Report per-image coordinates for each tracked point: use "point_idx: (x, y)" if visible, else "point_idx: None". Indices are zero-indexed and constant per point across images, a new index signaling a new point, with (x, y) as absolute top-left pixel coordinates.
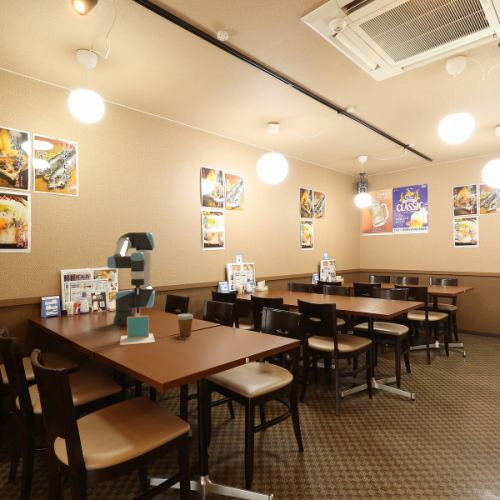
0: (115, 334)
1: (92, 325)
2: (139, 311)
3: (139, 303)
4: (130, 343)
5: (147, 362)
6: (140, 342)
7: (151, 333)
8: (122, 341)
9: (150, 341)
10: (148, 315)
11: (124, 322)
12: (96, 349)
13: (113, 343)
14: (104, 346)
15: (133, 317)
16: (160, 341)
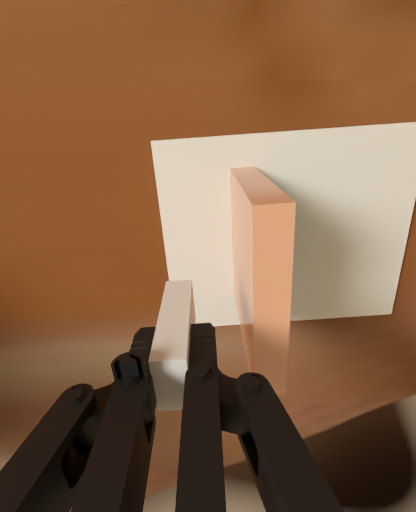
0: (103, 356)
1: None
2: (190, 330)
3: (290, 427)
4: (390, 267)
5: None
6: (396, 215)
7: (152, 151)
8: (320, 309)
9: (404, 152)
10: (254, 208)
11: None
12: (395, 388)
13: (315, 342)
14: (357, 368)
15: (287, 346)
16: (403, 78)
